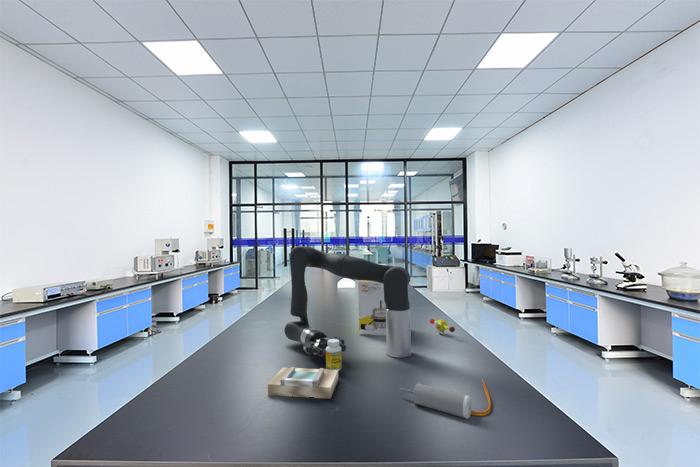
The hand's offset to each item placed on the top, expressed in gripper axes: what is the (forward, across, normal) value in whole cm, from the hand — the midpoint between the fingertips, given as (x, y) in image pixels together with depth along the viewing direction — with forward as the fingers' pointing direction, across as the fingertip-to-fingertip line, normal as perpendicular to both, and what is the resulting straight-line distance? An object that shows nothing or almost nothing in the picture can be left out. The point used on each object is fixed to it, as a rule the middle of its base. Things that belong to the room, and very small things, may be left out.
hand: (333, 351), depth 104 cm
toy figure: (-8, +61, +6) cm, 62 cm away
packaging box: (-30, +41, +6) cm, 51 cm away
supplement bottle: (0, 0, +6) cm, 6 cm away
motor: (+33, +19, +7) cm, 39 cm away
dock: (+7, -14, +6) cm, 16 cm away
